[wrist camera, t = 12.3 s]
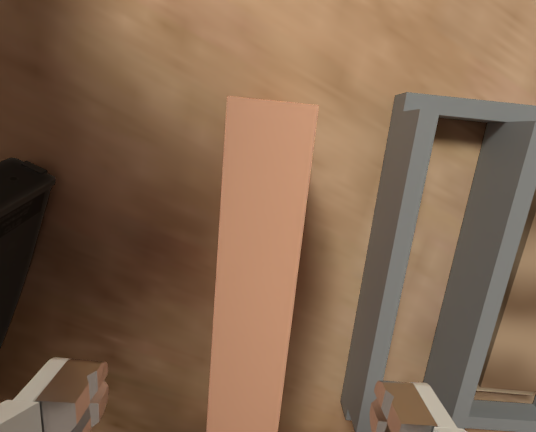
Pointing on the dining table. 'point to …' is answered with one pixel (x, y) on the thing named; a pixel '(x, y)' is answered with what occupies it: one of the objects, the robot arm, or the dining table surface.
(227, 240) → the salmon brown rectangular block
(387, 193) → the rack
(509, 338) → the upper offcut
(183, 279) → the dining table surface
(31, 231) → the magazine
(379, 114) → the dining table surface
